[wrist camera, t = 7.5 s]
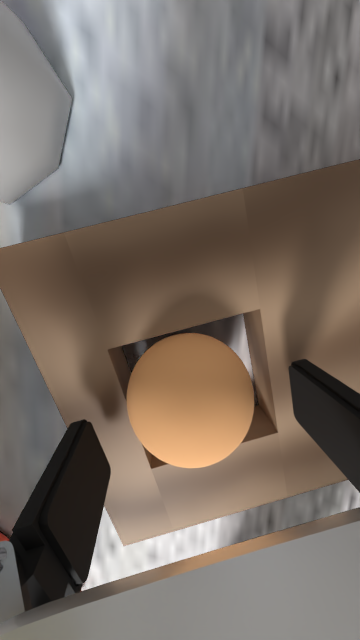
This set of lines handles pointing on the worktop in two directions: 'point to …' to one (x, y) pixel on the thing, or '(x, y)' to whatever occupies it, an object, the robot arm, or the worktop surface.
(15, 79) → the flask
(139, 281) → the board
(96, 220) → the worktop surface
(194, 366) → the orange ball
